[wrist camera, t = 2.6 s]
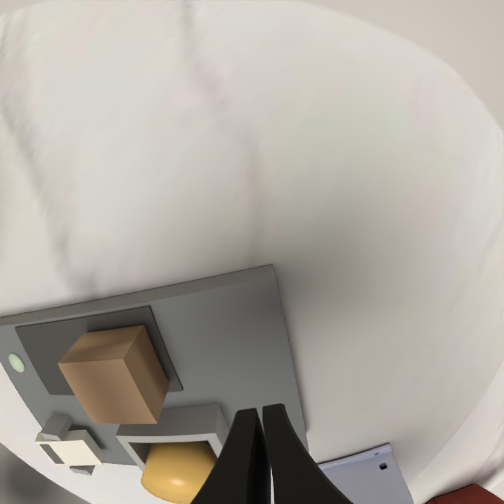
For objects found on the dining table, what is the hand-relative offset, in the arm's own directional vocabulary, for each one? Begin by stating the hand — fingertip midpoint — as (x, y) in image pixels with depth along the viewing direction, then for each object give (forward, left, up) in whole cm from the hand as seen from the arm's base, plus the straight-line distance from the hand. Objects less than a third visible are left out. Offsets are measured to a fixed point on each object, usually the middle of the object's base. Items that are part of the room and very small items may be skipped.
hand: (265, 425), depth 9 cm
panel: (+10, +4, -8) cm, 13 cm away
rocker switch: (+17, +8, -5) cm, 19 cm away
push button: (+6, +7, -5) cm, 11 cm away
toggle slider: (+8, 0, -6) cm, 10 cm away
